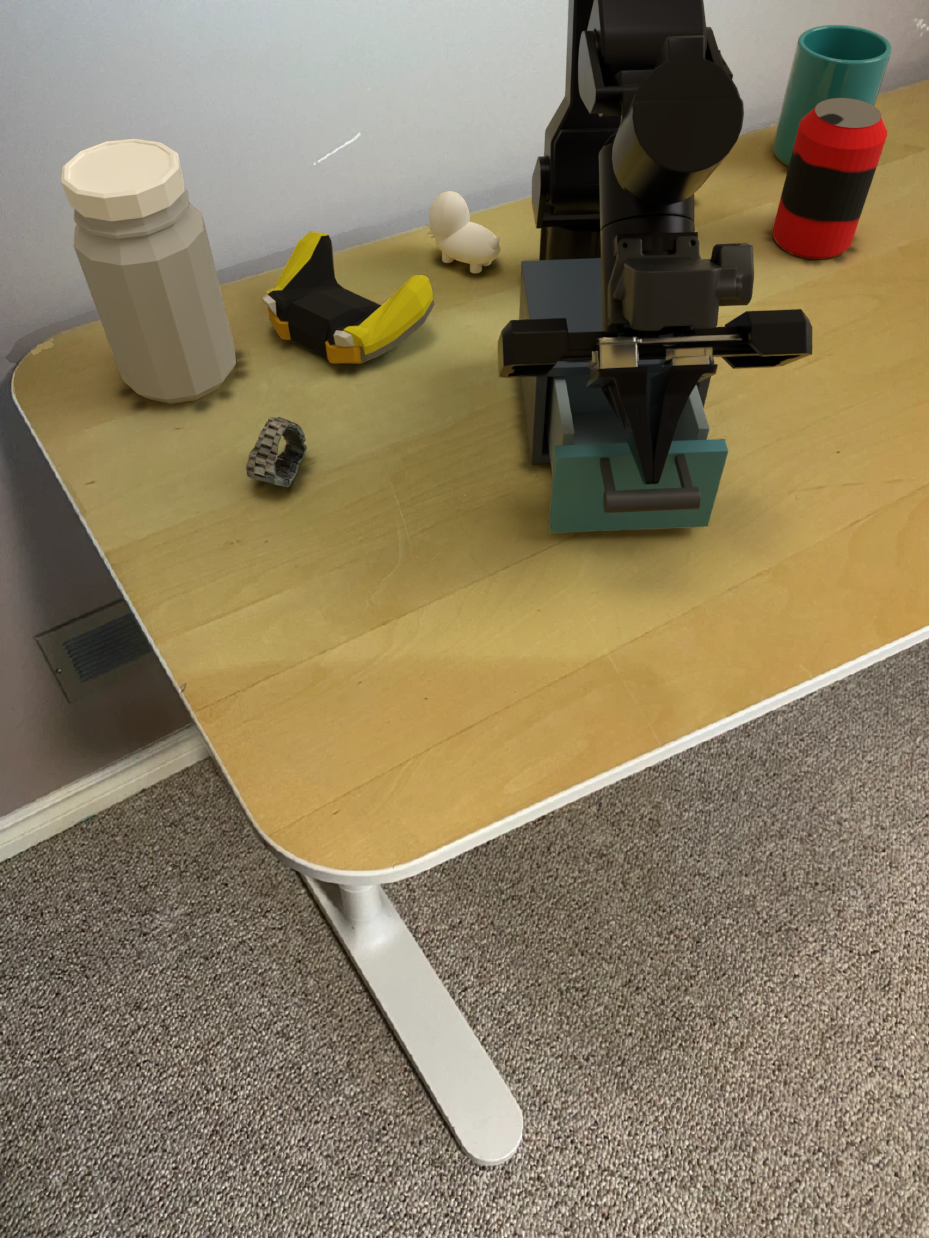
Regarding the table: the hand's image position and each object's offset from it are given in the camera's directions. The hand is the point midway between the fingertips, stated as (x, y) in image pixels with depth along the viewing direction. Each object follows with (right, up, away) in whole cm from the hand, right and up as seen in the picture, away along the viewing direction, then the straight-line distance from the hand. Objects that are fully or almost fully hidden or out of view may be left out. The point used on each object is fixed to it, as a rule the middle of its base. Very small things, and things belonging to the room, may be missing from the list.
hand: (651, 484), depth 61 cm
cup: (+27, +42, +44) cm, 66 cm away
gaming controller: (-23, +17, +25) cm, 38 cm away
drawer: (0, +1, +10) cm, 10 cm away
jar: (-36, +12, +21) cm, 44 cm away
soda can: (+22, +28, +33) cm, 49 cm away
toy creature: (-12, +26, +31) cm, 42 cm away
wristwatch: (-26, +2, +13) cm, 29 cm away
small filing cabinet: (-1, +9, +18) cm, 20 cm away
